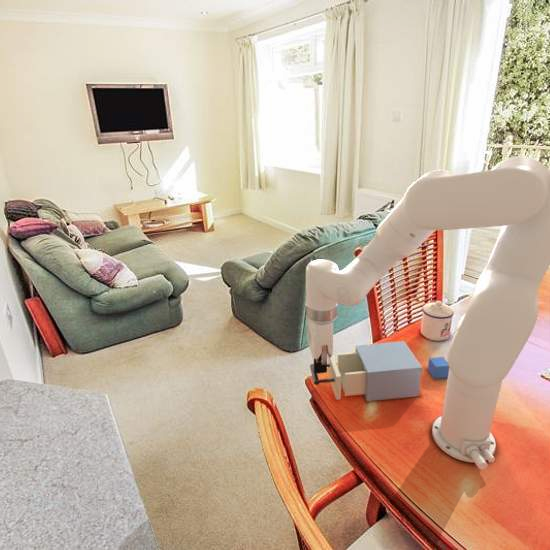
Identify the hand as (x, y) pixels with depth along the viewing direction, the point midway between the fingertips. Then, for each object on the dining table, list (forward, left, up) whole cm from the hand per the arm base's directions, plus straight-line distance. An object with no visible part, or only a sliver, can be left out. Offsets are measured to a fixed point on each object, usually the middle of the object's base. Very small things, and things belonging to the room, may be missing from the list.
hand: (320, 370), depth 98 cm
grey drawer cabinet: (0, -18, -6) cm, 19 cm away
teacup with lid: (+22, -42, -6) cm, 48 cm away
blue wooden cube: (+2, -33, -6) cm, 34 cm away
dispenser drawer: (0, -7, -5) cm, 8 cm away
